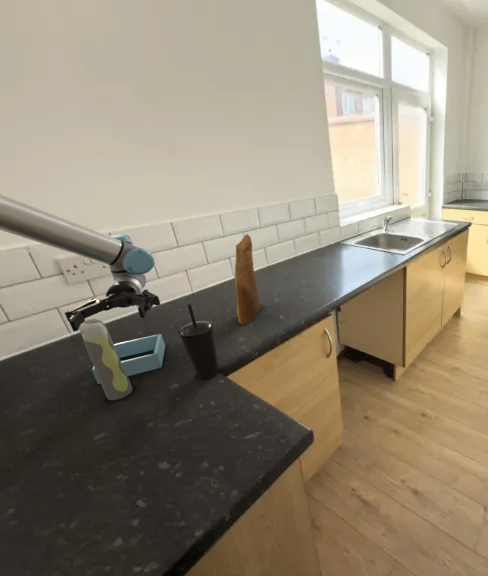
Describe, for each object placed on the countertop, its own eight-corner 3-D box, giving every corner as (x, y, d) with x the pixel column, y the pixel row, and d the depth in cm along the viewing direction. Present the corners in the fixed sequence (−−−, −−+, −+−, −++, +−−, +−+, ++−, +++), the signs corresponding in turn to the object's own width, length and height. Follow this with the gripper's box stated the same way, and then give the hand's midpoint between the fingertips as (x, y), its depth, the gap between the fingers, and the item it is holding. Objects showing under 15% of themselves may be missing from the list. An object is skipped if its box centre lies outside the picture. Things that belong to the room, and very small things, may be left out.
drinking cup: (184, 381, 81) (162, 310, 73) (207, 363, 87) (188, 297, 80) (210, 385, 79) (189, 313, 71) (231, 367, 86) (214, 299, 78)
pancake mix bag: (269, 303, 124) (256, 232, 114) (253, 327, 106) (236, 245, 96) (251, 304, 124) (237, 233, 113) (232, 328, 106) (214, 246, 96)
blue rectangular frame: (98, 384, 80) (91, 370, 79) (109, 359, 91) (103, 346, 89) (161, 368, 86) (156, 353, 85) (165, 346, 97) (161, 333, 95)
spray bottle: (102, 399, 75) (69, 324, 68) (123, 386, 79) (94, 314, 72) (117, 403, 74) (84, 327, 66) (137, 389, 78) (109, 317, 71)
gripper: (175, 295, 104) (170, 320, 87) (76, 312, 93) (48, 346, 76) (169, 273, 101) (162, 295, 84) (66, 288, 91) (34, 318, 73)
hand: (108, 319), depth 80 cm, fingers open, 13 cm apart
